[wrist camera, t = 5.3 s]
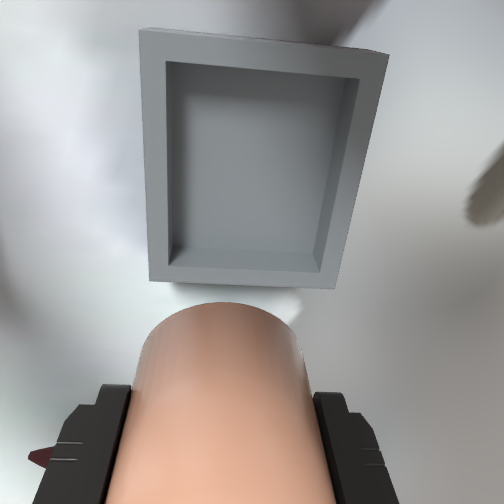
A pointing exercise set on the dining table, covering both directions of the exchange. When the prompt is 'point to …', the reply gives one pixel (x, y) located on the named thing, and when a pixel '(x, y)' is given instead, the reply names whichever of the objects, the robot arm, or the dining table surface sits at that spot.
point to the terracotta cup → (220, 415)
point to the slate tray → (252, 155)
